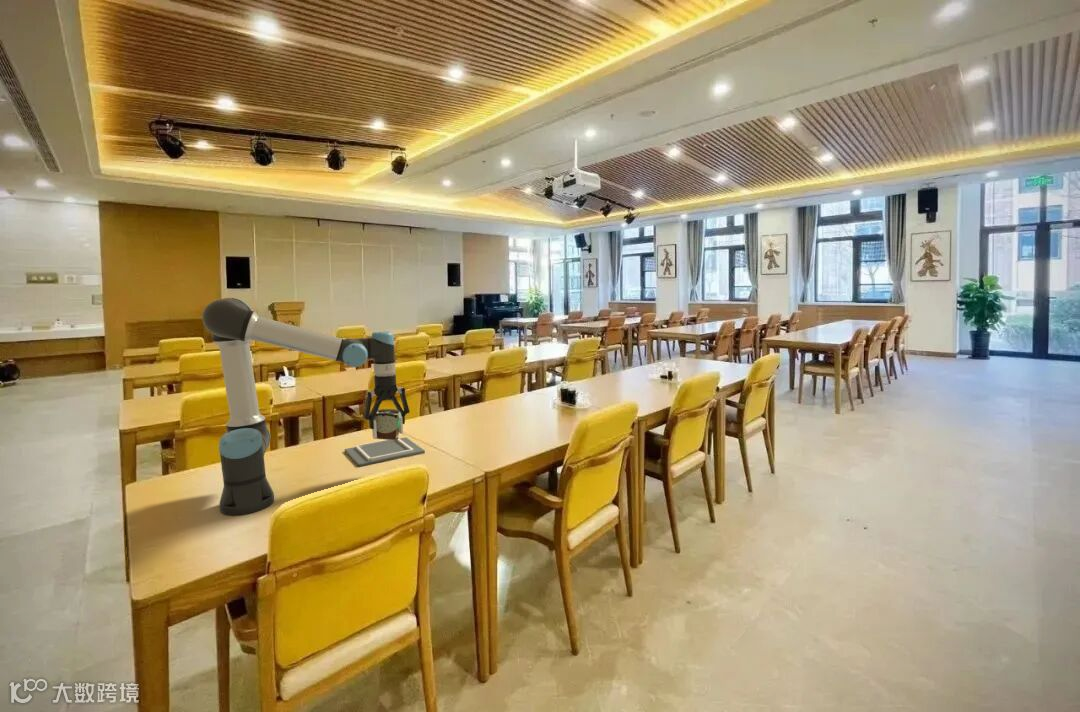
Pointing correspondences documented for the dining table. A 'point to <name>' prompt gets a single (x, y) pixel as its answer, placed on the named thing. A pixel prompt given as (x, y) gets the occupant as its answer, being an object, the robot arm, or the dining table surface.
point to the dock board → (383, 451)
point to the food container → (387, 424)
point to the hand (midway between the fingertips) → (387, 434)
